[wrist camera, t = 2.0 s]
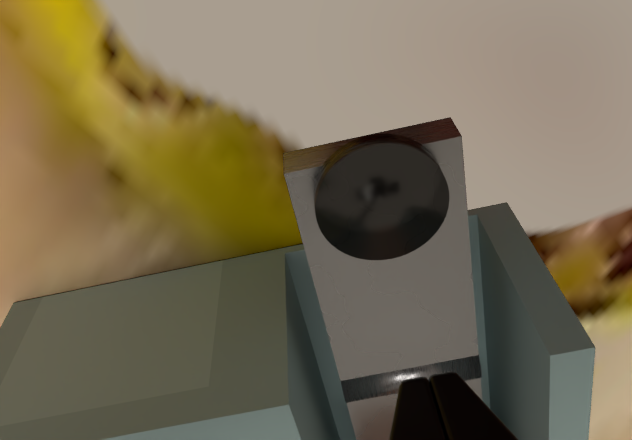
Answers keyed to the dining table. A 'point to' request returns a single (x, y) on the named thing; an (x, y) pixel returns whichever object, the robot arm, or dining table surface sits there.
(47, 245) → the dining table surface
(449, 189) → the lever
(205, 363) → the jig
